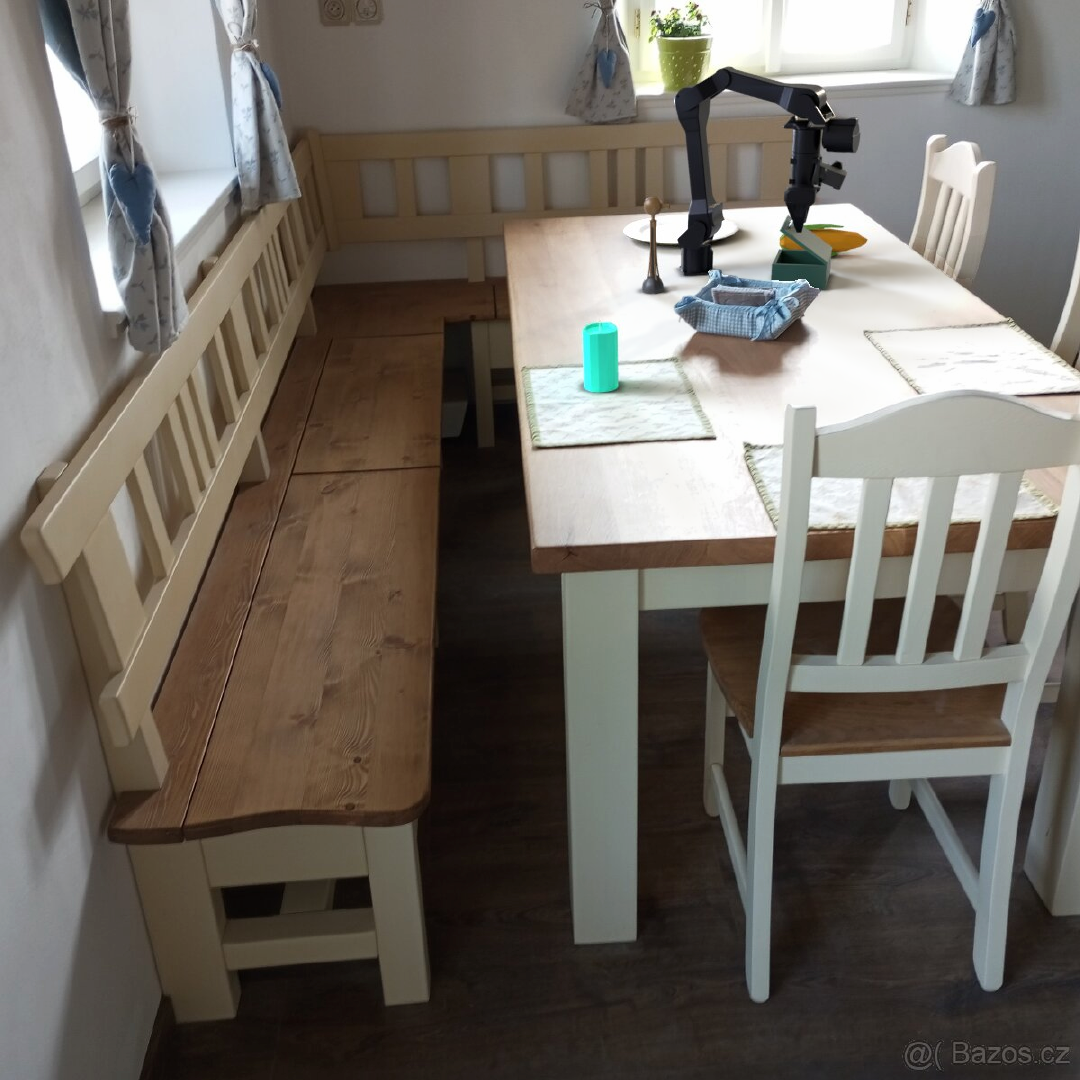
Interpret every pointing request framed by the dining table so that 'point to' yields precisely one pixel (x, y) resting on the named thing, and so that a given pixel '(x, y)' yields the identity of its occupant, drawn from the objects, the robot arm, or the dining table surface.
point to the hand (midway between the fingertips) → (801, 227)
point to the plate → (672, 229)
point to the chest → (800, 268)
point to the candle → (600, 357)
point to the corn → (828, 238)
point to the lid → (807, 241)
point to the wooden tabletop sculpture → (653, 247)
